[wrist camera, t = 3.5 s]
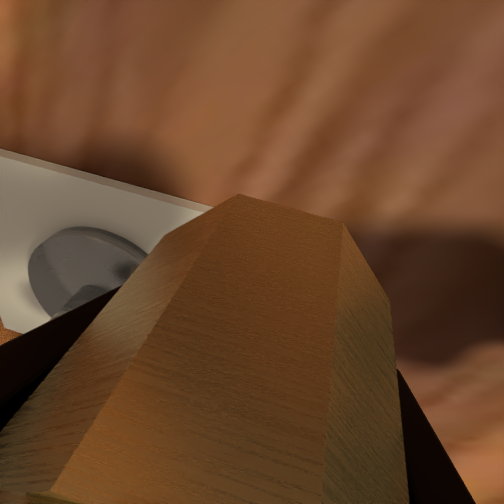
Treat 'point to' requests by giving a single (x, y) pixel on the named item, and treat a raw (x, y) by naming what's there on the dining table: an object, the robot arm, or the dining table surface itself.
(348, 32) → the dining table surface
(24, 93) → the dining table surface
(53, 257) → the metal disc with knob
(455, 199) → the dining table surface
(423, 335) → the dining table surface
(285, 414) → the brown and gold cylinder
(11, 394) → the robot arm
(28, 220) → the board
